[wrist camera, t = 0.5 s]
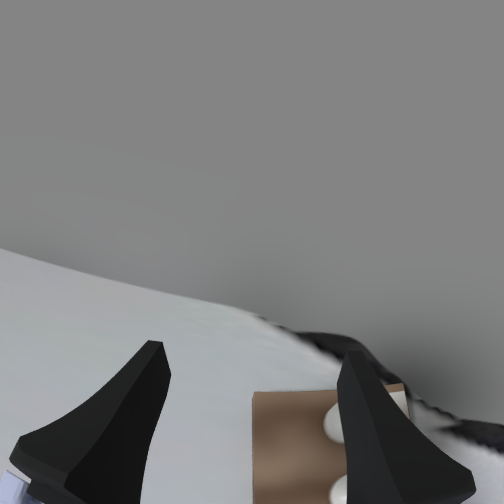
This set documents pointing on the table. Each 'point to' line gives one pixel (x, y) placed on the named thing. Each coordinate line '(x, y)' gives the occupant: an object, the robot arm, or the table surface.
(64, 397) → the table surface
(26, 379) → the table surface
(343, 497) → the button middle
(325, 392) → the button board
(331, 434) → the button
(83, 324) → the table surface
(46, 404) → the table surface
